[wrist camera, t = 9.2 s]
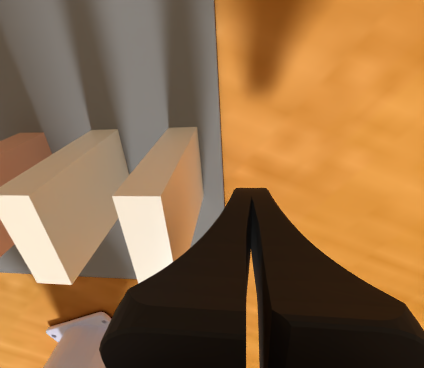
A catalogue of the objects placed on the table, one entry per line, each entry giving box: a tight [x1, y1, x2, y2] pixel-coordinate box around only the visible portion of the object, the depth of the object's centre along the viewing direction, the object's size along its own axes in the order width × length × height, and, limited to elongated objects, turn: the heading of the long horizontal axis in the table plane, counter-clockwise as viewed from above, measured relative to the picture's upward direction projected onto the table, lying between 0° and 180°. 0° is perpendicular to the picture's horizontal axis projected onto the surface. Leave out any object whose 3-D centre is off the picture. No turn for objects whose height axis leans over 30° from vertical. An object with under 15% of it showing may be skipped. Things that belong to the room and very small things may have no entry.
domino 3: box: [112, 127, 204, 284], centre depth 12 cm, size 2×4×7 cm, turn 3°
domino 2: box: [0, 129, 129, 285], centre depth 13 cm, size 2×4×7 cm, turn 4°
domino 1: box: [0, 132, 52, 257], centre depth 14 cm, size 2×4×7 cm, turn 3°
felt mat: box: [0, 0, 225, 279], centre depth 16 cm, size 26×22×1 cm
